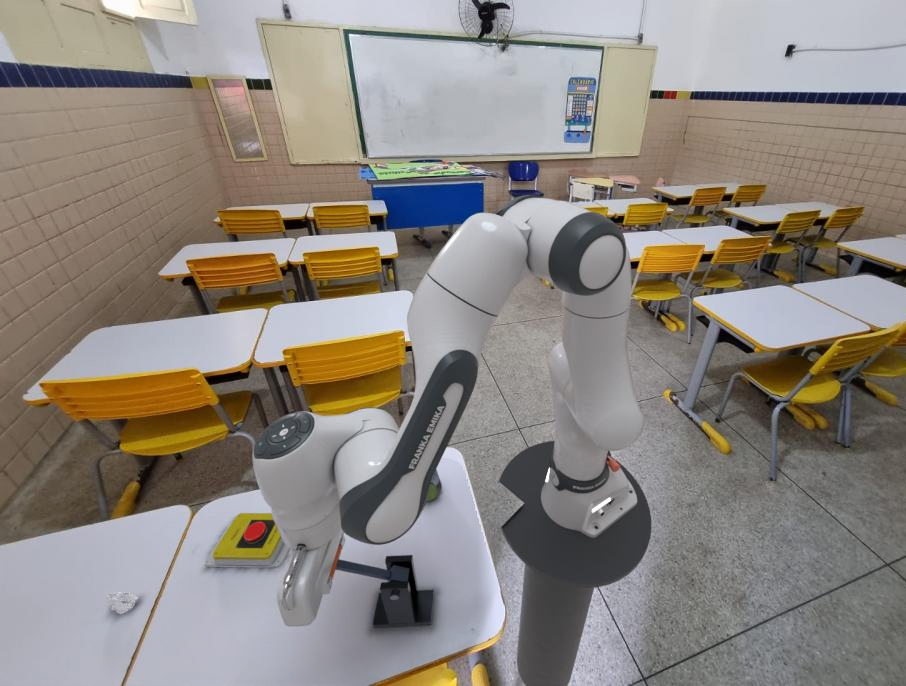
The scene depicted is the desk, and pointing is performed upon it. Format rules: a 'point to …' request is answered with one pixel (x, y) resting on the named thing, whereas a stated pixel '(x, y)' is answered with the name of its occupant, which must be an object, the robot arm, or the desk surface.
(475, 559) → the desk surface
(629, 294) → the robot arm
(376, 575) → the switch lever
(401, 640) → the desk surface
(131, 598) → the white crumpled lump
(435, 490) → the beverage can
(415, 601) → the switch bracket
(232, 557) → the emergency button
